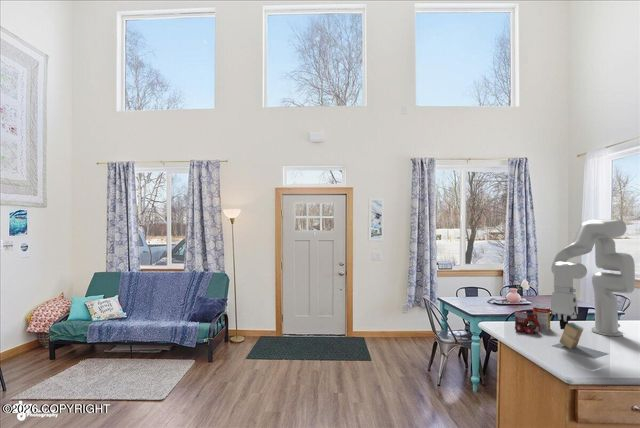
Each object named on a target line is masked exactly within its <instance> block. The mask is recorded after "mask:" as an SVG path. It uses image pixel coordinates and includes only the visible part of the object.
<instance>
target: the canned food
mask: <svg viewBox="0 0 640 428" xmlns="http://www.w3.org/2000/svg"><path fill="white" fill-rule="evenodd" d="M532 308H533V309H532V314H534V317H536V318H537V320H538V322H539V324H540V332H541V331H550V330H551V306H546V305H541V304H539V305H538V304H536V305H533V306H532Z"/></svg>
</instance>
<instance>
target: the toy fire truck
mask: <svg viewBox="0 0 640 428" xmlns="http://www.w3.org/2000/svg"><path fill="white" fill-rule="evenodd" d="M514 318H515V319H514V320H515V323H514V329H515V331H516V332H518V333H523V332H525V333H526V335H533V334H535V333H540V332H541V331H540V324H539V322H538V320H537V318H536V317H534V314H533V313H528V312H525V311H524V312H523V311H519V310H516V311H514Z"/></svg>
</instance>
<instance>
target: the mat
mask: <svg viewBox="0 0 640 428" xmlns="http://www.w3.org/2000/svg"><path fill="white" fill-rule="evenodd" d="M551 347H553V348H557V349H561V350H564V351H568V352H570V353H574V354H578V355H579V356H580V355H581V356H584V357H588V358H591V359H598V358H601V357H604V356H607V355H609V353H608V352H604V351H601V350H597V349H593V348H589V347H585V346H582V345H579V344H577V347H575V348H571V349H570V348H568V347H566V346H565V345H563V344H561V343H560V342H558V343H557V344H553V345H551Z"/></svg>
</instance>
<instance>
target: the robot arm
mask: <svg viewBox="0 0 640 428" xmlns="http://www.w3.org/2000/svg"><path fill="white" fill-rule="evenodd" d="M626 232H627V225H626V222H625V221H623V220H622V219H590V220H588V221H584V222H582V223H581V224H579V227H578V229H577V232H576V234H575V236H574V239H573V241H572V242H571V244H568V245H567V246H564V247H563V248H562V249H561V250H559V251H558V253H556V254H555V257H554V258H553V261H552V263H551V273H552V275H553V291H552V294H551V301H550V311H551V315H554V316H556V318H557V319H558V320H559V328H560V330H563V331H564V328H565V326H566V324H567V323H569V321H570V320H575V319H577V315H578V314H579V307H578V300H577V299H578V298H577V296H576V292H577V290H576V288H574V279H577V280H579V279H580V280H581V279H583V278H585V277H586V275H587V274H588V268H587V267H586V266H585V264H583V263H579V262H571V261H568V260H570V259H573V258H576V257H579V256H583V255H587V254H589V253H591V252H592V251H593V248H594V255H595V256H594V258H595V266H596V268H597V269H600V270H603V272H601V271H599V272H595V273H594V274H592V276H591V284H592V288H593V292H594V293H593V294H594V326H593V327H591V331H592V332H593V333H596V334H597V335H603V336H609V337H621V336H622V335H623V332H622V331H620V330H619V328H621V324H620V323H619V313H618V311H619V310H618V309H619V306H618V298H617V297H616V295H615V293H619V294H628V295H629V294H633V292H634V291H635V288H636V286H635V285H636V270H635V269H636V267H635V259H634V258H633V256H632V255H631V254H629V253H626V252H625V253H624V252H617V251H616V242H615V240H614V239H616V238H620V237H622V236H624V235H625V233H626ZM604 270H605V271H610V272H605V271H604ZM611 271H613V272H614V271H615V272H620V273H613V272H611Z"/></svg>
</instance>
